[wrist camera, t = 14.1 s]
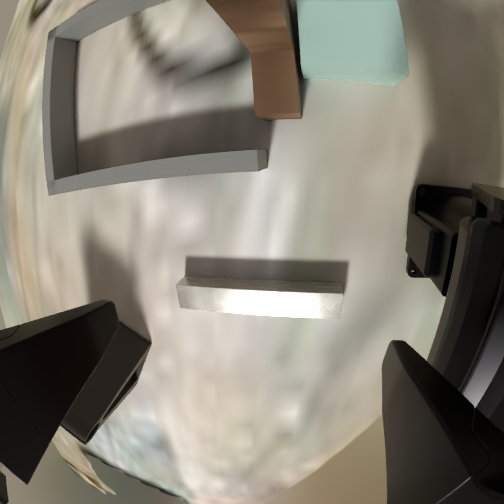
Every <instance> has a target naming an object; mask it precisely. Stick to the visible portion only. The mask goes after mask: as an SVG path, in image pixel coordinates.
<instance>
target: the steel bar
mask: <svg viewBox="0 0 504 504" xmlns="http://www.w3.org/2000/svg"><path fill="white" fill-rule="evenodd" d="M176 289H177V294H178V299H179V304H180V308H186V309H195V310H205V311H215V312H226V313H238V314H250V315H265V316H281V317H301V318H327V319H340V318H341V310H342V301H343V289H342V282H307V281H280V280H256V279H236V278H217V277H200V276H184V277H183V278H182V279H181V280H180V281H179V282H178V283H177V284H176Z"/></svg>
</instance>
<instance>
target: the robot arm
mask: <svg viewBox="0 0 504 504" xmlns="http://www.w3.org/2000/svg"><path fill="white" fill-rule="evenodd" d="M421 188H423V189H424V193H423V194H422V195H420V194H419V190H420V189H421ZM406 252H407V253H408V260H407V267H406V272H407V274H408V275H409V276H410V277H413V278H430V279H431V280H432V281H433V283H434V284H435V285H436V287H437V288H438V290H439V291H440V292H441V294H442V295H443V296H445V297H446V300H445V304H444V307H443V311H442V315H441V318H440V322H439V325H438V328H437V331H436V335H435V338H434V341H433V344H432V347H431V350H430V353H429V356H428V359H427V361H426V360H425V359H424V358H423V357H422V356H421V355H420V354H418V353H417V352H416V351H415V350H414V349H413V348H412V347H411V346H410V345H408V344H407V343H406V342H405V341H403V340H392V341H391V342H390V343H389V346H388V349H387V351H386V354H385V357H384V360H383V363H382V414H383V425H384V436H385V449H386V470H387V504H504V188H500V187H494V186H488V185H481V184H474V183H472V187H471V189H467V188H459V187H450V186H441V185H430V184H418V185H416V186H415V188H414V199H413V213H411V214H410V215H409V221H408V232H407V241H406ZM412 268H416V269H415V271H414V272H411V269H412ZM118 327H119V319H118V315H117V311H116V307H115V304H114V303H113V302H112V301H108V300H100V301H97V302H94V303H90V304H87V305H84V306H80V307H77V308H74V309H70V310H67V311H64V312H60V313H57V314H54V315H50V316H47V317H44V318H40V319H37V320H34V321H30V322H27V323H24V324H21V325H17V326H14V327H10V328H7V329H3V330H0V469H1V468H2V467H3V466H5V467H6V468H7V469H8V470H9V471H10V472H12V473H13V474H14V475H15V476H16V477H17V478H18V479H20V480H21V481H22V482H23V483H25V484H26V485H27V484H28V483H29V481H30V480H31V478H32V475H33V474H34V472H35V469H36V468H37V466H38V464H39V462H40V460H41V458H42V457H43V455H44V453H45V451H46V449H47V447H48V446H49V443H50V442H51V440H52V438H53V436H54V435H55V433H56V431H57V429H58V428H59V426H60V424H61V423H62V421H63V419H64V417H65V416H66V414H67V412H68V411H69V409H70V408H71V406H72V404H73V403H74V401H75V399H76V398H77V396H78V395H79V393H80V391H81V390H82V388H83V387H84V385H85V383H86V382H87V380H88V379H89V377H90V376H91V374H92V373H93V371H94V370H95V368H96V367H97V365H98V363H99V362H100V360H101V359H102V357H103V355H104V353H105V351H106V349H107V347H108V346H109V344H110V342H111V340H112V338H113V336H114V335H115V333H116V331H117V329H118ZM7 503H8V494H7V486H6V476H5V475H4V474H3V473H2V472H1V471H0V504H7Z"/></svg>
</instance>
